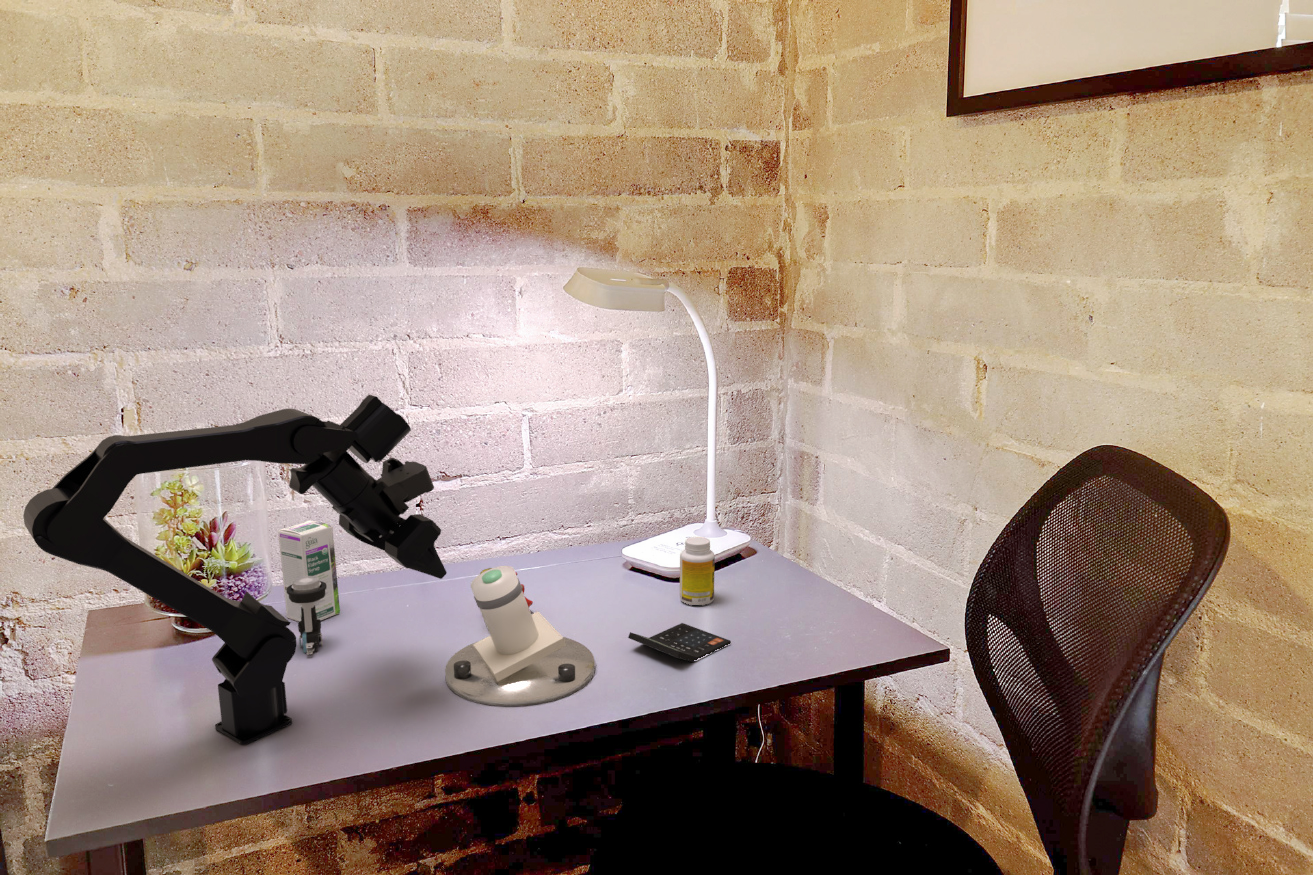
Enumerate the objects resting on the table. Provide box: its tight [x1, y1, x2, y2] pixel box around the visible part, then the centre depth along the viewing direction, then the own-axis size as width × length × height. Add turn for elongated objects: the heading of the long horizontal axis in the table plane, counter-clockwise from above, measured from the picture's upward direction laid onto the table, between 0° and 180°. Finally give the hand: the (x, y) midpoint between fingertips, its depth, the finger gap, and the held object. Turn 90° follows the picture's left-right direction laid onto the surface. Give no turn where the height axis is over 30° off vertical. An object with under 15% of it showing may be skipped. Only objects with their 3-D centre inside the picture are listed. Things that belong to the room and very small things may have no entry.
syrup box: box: [277, 519, 341, 623], centre depth 145 cm, size 6×6×14 cm
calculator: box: [627, 622, 732, 663], centre depth 135 cm, size 9×12×3 cm
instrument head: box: [470, 565, 566, 682], centre depth 126 cm, size 10×10×12 cm
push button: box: [286, 576, 327, 655], centre depth 134 cm, size 7×5×10 cm
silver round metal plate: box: [444, 636, 596, 707], centre depth 128 cm, size 20×20×3 cm
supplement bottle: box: [679, 536, 716, 606], centre depth 152 cm, size 6×6×10 cm
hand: (427, 566), depth 125 cm, fingers open, 9 cm apart
